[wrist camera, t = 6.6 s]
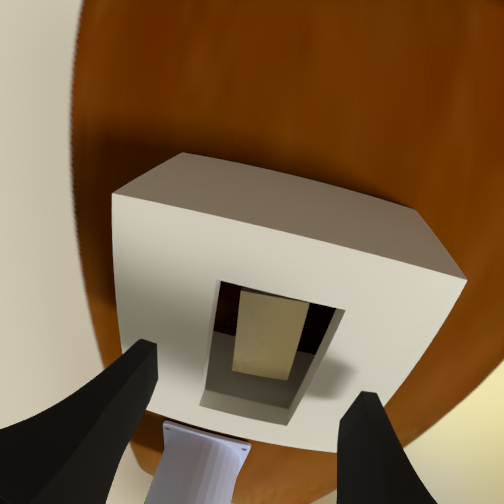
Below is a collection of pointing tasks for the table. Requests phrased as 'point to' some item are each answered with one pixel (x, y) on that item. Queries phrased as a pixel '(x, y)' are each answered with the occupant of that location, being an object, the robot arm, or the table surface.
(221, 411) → the slot box
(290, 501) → the table surface
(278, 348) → the wooden brick
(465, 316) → the table surface
